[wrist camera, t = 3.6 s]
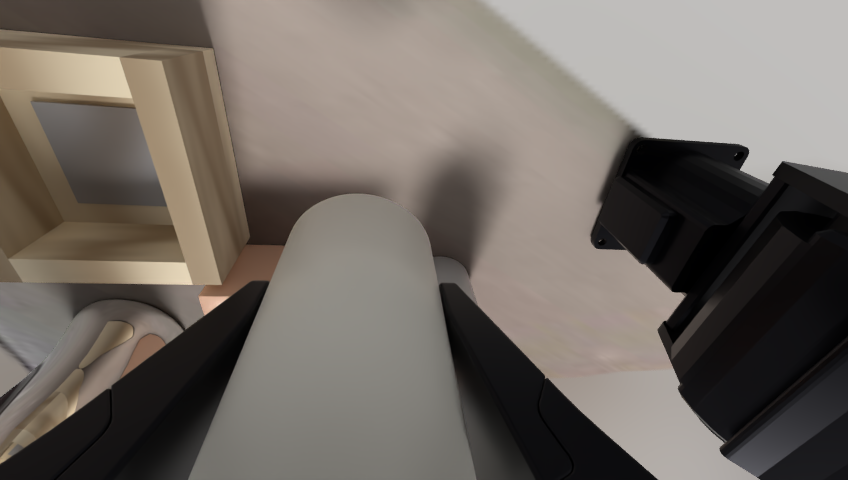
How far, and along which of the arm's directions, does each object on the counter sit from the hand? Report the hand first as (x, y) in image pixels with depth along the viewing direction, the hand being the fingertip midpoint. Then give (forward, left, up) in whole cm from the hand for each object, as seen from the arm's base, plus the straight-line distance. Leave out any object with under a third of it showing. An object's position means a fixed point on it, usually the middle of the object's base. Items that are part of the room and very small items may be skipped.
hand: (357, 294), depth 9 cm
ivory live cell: (0, 0, -2) cm, 2 cm away
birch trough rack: (+11, +1, -10) cm, 15 cm away
